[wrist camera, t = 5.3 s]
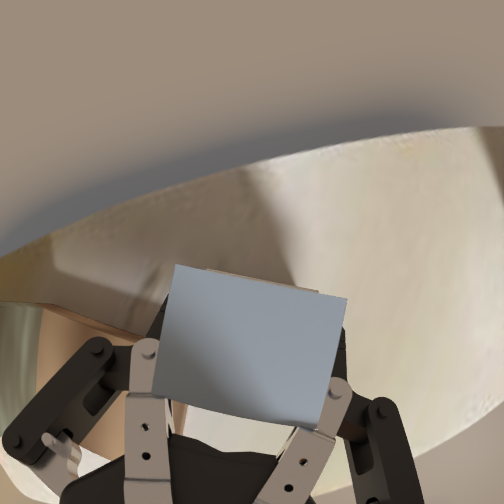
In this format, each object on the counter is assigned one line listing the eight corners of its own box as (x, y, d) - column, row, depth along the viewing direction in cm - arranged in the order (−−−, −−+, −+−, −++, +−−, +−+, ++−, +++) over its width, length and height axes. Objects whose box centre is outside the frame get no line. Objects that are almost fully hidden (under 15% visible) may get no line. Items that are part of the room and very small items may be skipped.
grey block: (302, 298, 18) (348, 293, 8) (288, 364, 17) (316, 428, 8) (221, 282, 18) (176, 258, 9) (207, 348, 18) (150, 393, 8)
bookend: (197, 352, 18) (57, 452, 4) (177, 464, 17) (92, 608, 2) (52, 303, 19) (-111, 287, 5) (43, 406, 18) (-89, 452, 3)
